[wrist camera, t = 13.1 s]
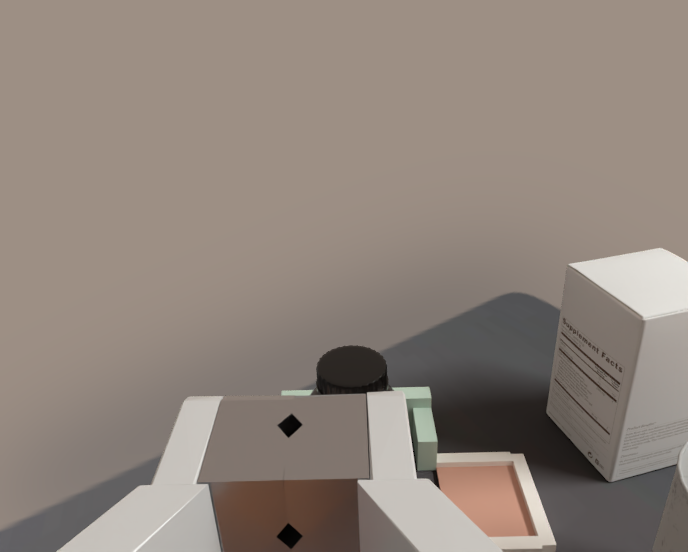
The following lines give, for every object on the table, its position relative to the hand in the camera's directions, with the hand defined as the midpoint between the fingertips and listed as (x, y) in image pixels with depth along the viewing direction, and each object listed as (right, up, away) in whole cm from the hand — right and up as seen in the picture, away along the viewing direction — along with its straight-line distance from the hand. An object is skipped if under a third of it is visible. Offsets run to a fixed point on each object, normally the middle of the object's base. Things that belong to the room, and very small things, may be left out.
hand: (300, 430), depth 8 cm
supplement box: (+24, -11, +42) cm, 50 cm away
